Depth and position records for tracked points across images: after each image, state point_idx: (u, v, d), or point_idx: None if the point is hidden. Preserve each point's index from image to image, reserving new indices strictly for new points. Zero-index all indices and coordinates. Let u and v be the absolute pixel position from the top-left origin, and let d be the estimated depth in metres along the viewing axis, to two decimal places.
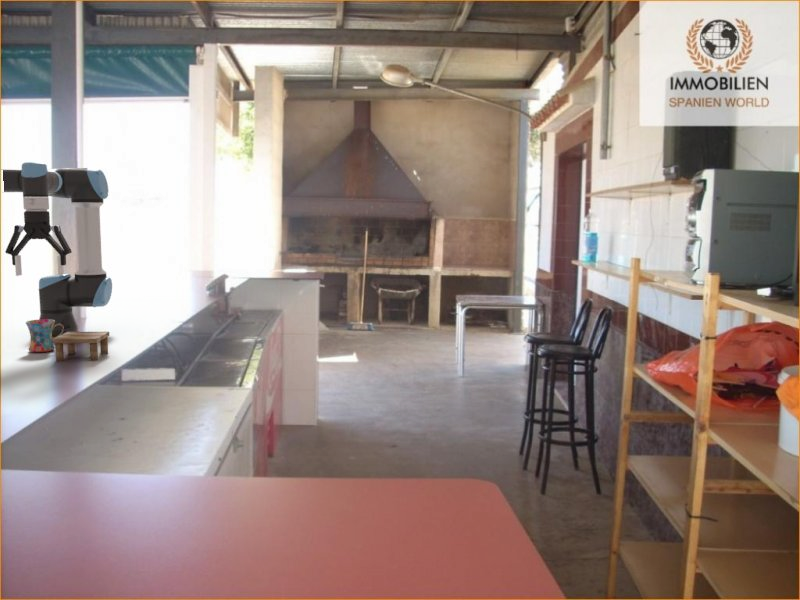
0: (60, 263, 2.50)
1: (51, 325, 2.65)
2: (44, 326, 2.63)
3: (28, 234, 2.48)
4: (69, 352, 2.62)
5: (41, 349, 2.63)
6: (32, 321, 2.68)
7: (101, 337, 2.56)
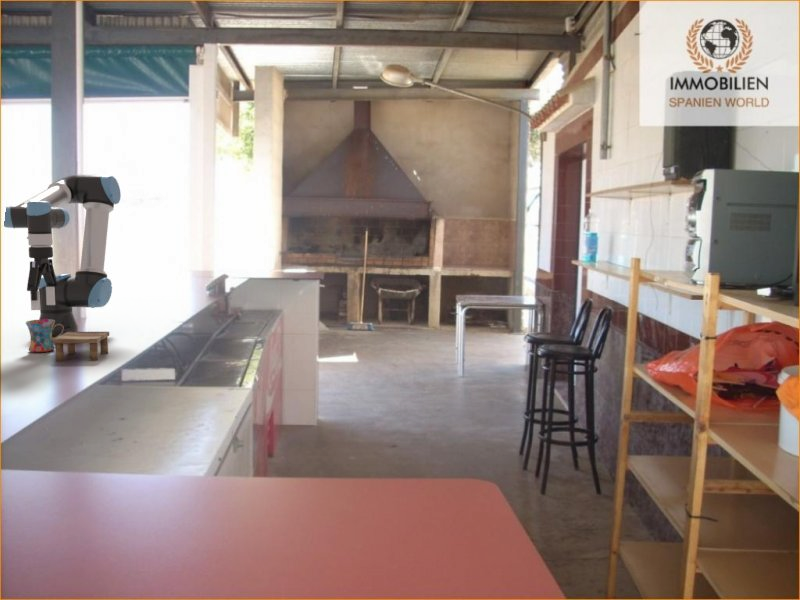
0: None
1: (51, 325, 2.65)
2: (44, 326, 2.63)
3: None
4: (69, 352, 2.62)
5: (41, 349, 2.63)
6: (32, 321, 2.68)
7: (101, 337, 2.56)
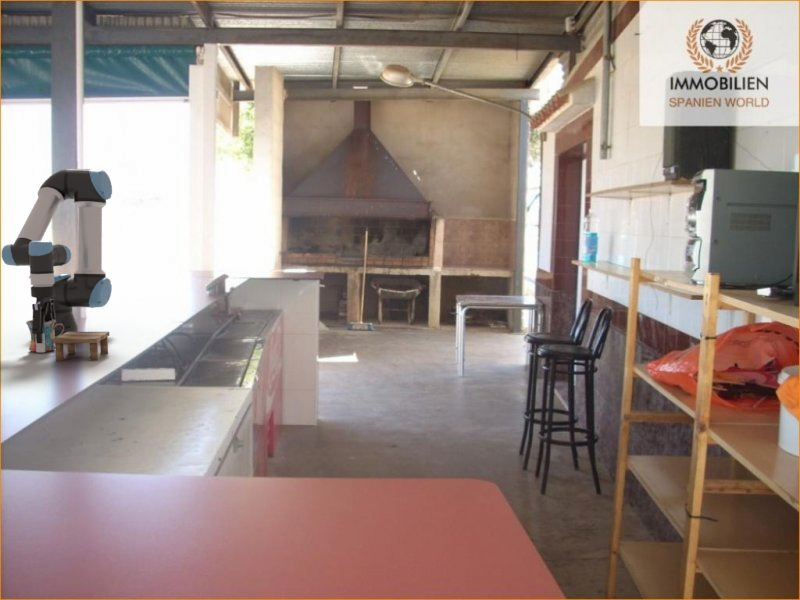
0: None
1: (51, 325, 2.65)
2: (44, 326, 2.63)
3: None
4: (69, 352, 2.62)
5: None
6: (32, 321, 2.68)
7: (101, 337, 2.56)
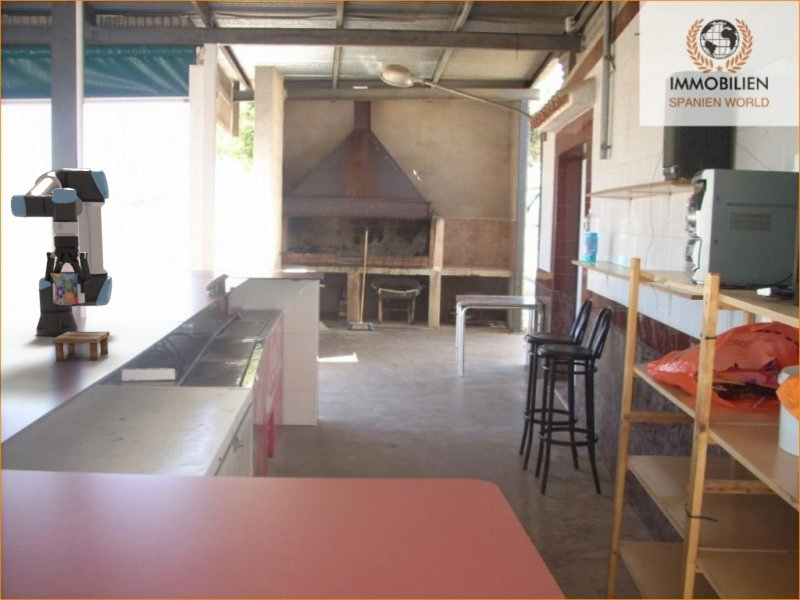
0: (80, 291, 2.55)
1: None
2: None
3: (58, 259, 2.54)
4: (69, 352, 2.62)
5: None
6: None
7: (101, 337, 2.56)
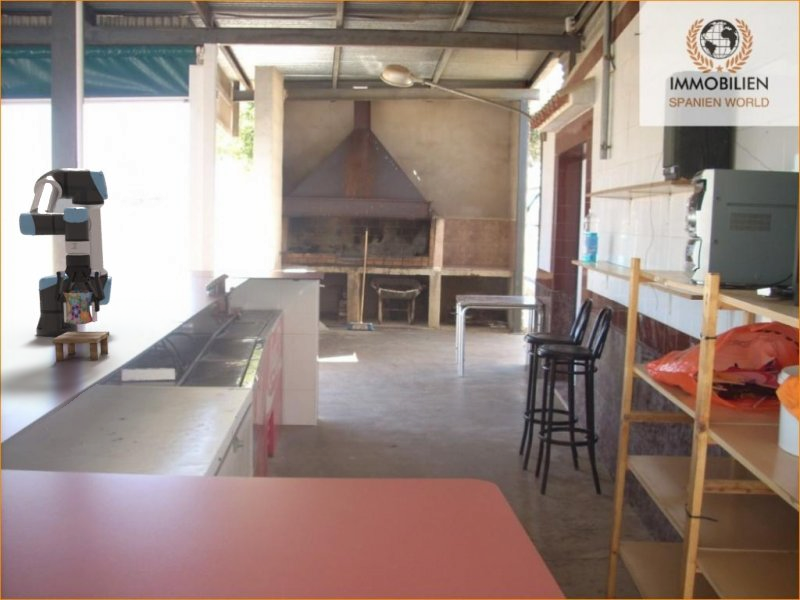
0: (94, 310, 2.55)
1: None
2: None
3: (71, 278, 2.53)
4: (69, 352, 2.62)
5: None
6: None
7: (101, 337, 2.56)
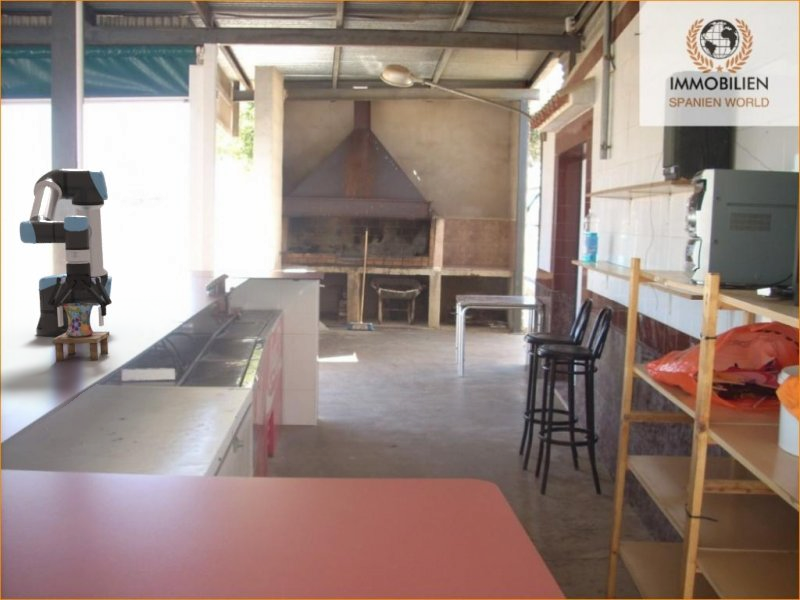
0: (101, 314, 2.56)
1: None
2: None
3: (70, 286, 2.53)
4: (69, 352, 2.62)
5: (92, 331, 2.57)
6: None
7: (101, 337, 2.56)
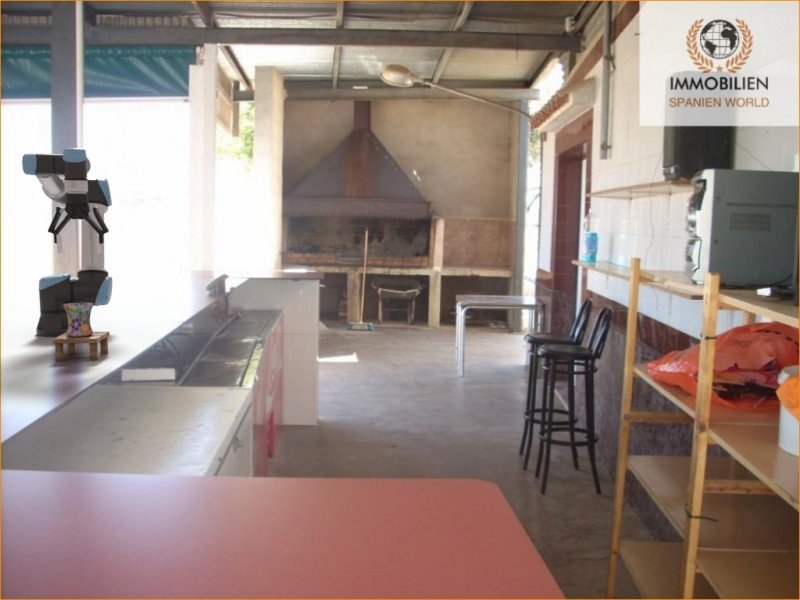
0: (98, 242, 2.71)
1: None
2: None
3: (69, 215, 2.68)
4: (69, 352, 2.62)
5: (92, 331, 2.57)
6: None
7: (101, 337, 2.56)
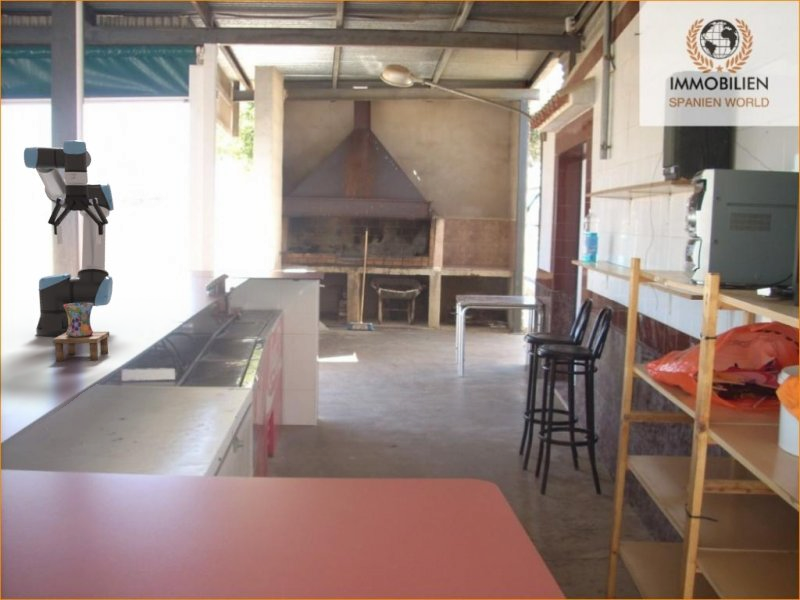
0: (98, 233, 2.74)
1: None
2: None
3: (69, 206, 2.72)
4: (69, 352, 2.62)
5: (92, 331, 2.57)
6: None
7: (101, 337, 2.56)
